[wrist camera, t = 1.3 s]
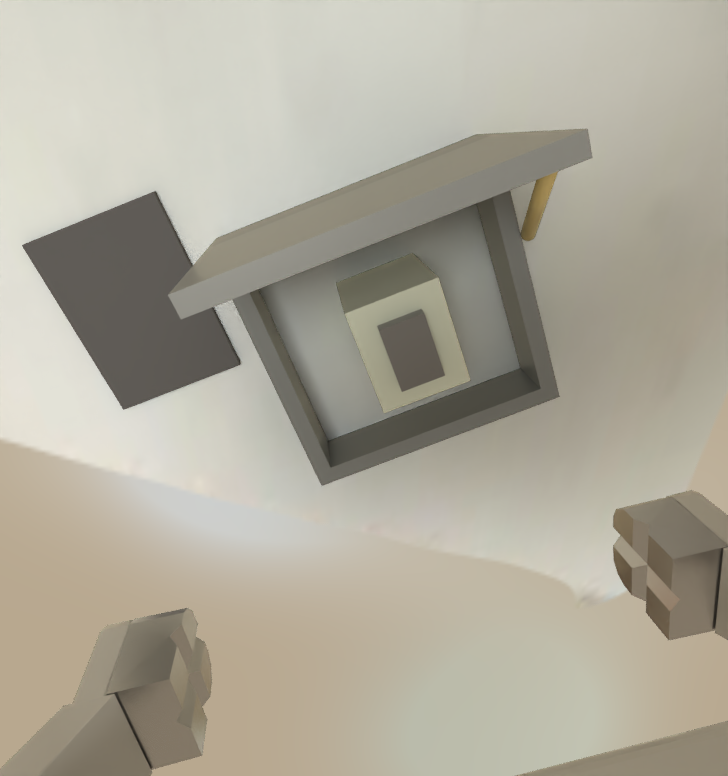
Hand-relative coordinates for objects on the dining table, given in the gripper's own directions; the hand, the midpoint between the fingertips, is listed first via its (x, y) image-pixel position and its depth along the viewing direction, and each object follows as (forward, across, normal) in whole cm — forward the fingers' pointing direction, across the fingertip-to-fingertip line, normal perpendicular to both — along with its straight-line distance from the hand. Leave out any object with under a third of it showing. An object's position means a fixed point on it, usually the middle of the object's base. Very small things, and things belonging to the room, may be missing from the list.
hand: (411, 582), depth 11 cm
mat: (+26, +11, -1) cm, 29 cm away
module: (+26, -4, +2) cm, 26 cm away
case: (+26, -4, +2) cm, 26 cm away
